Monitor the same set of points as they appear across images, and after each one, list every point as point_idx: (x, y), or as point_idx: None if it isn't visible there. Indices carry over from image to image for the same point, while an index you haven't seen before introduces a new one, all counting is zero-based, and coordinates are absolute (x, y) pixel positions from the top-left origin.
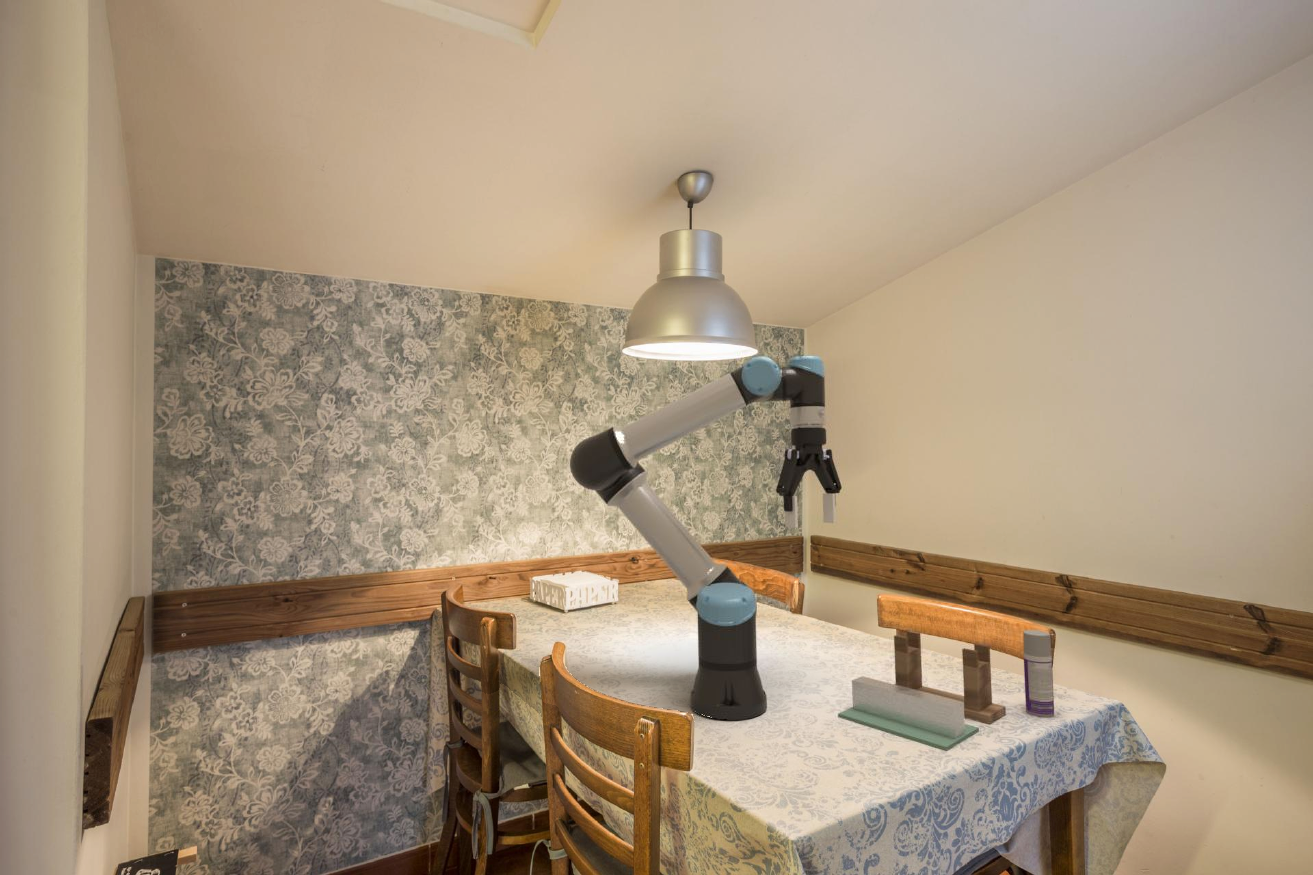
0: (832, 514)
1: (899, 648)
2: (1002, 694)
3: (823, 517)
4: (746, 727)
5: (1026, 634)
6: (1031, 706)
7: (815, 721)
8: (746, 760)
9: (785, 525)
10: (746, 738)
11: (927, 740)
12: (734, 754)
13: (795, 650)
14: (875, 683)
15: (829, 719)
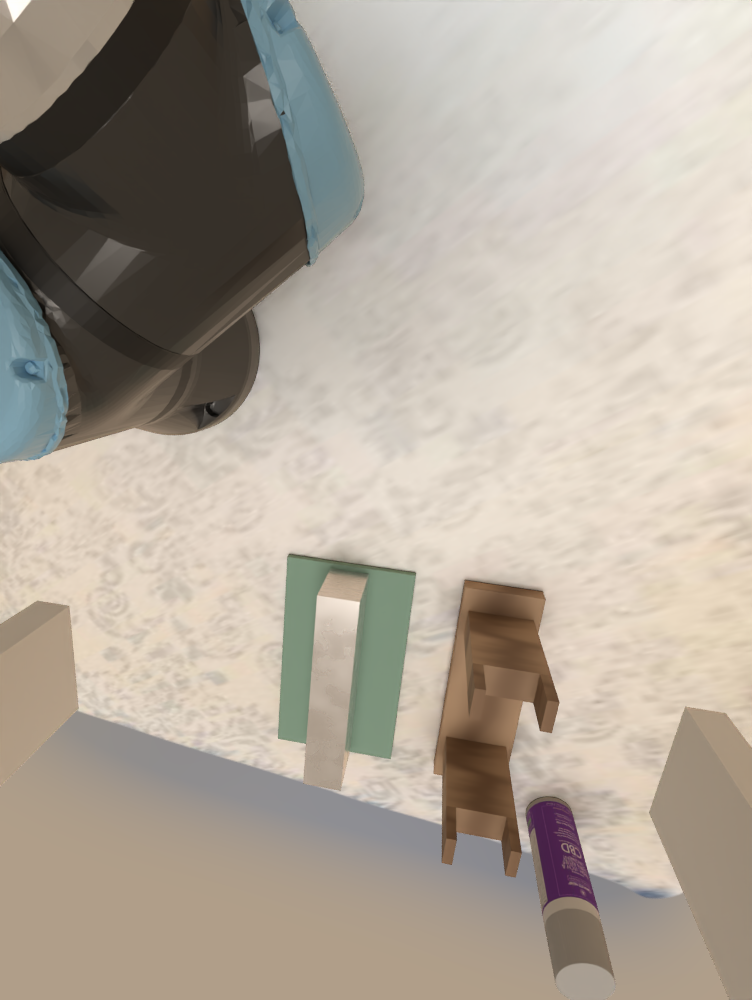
0: (694, 893)
1: (470, 680)
2: (622, 754)
3: (714, 749)
4: (121, 444)
5: (562, 966)
6: (530, 818)
7: (239, 531)
8: (28, 522)
9: (25, 610)
10: (86, 473)
11: (281, 712)
12: (27, 494)
13: (748, 170)
14: (332, 641)
15: (266, 547)
